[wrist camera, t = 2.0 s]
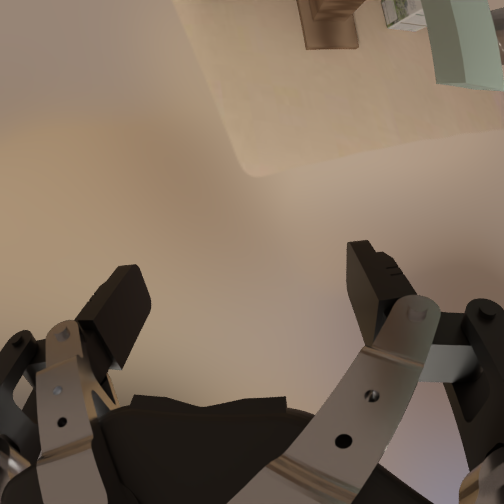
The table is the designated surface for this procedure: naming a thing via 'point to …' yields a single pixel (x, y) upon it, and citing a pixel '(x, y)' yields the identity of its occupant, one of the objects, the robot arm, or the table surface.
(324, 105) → the table surface
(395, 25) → the syrup box
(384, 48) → the table surface
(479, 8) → the peg
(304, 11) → the stand
